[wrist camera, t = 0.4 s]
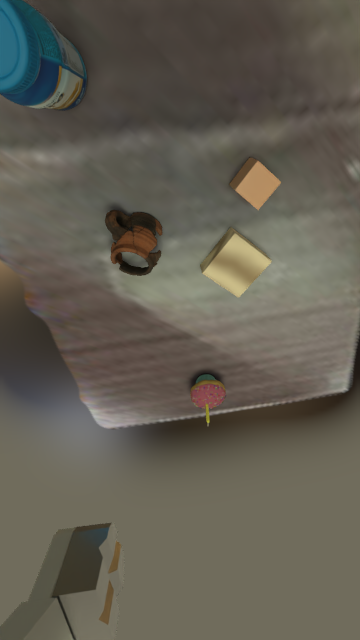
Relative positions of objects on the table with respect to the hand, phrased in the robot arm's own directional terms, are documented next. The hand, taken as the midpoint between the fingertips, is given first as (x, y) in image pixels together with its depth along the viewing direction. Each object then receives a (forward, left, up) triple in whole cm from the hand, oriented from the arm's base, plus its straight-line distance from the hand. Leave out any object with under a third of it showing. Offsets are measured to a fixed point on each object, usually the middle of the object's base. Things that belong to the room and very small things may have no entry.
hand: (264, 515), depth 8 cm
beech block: (+4, +16, -50) cm, 52 cm away
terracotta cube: (-8, +9, -50) cm, 51 cm away
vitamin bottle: (-2, -22, -50) cm, 54 cm away
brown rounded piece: (+11, -2, -50) cm, 51 cm away
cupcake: (+32, +32, -50) cm, 67 cm away
